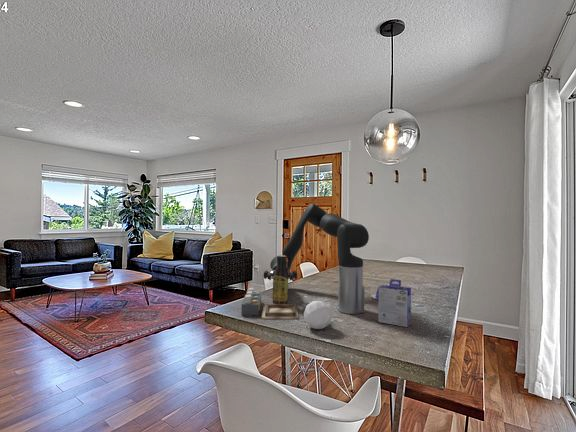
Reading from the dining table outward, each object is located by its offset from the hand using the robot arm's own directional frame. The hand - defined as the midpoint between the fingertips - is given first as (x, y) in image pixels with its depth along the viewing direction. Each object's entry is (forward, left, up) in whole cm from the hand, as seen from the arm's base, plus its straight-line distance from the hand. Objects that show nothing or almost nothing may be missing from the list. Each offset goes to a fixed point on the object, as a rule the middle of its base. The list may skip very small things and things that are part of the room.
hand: (280, 277), depth 129 cm
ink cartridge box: (-39, +22, -11) cm, 46 cm away
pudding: (-47, -12, -12) cm, 50 cm away
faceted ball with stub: (-13, +26, -11) cm, 31 cm away
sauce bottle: (0, -2, -11) cm, 11 cm away
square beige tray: (0, +11, -11) cm, 16 cm away
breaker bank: (+11, +5, -11) cm, 16 cm away
